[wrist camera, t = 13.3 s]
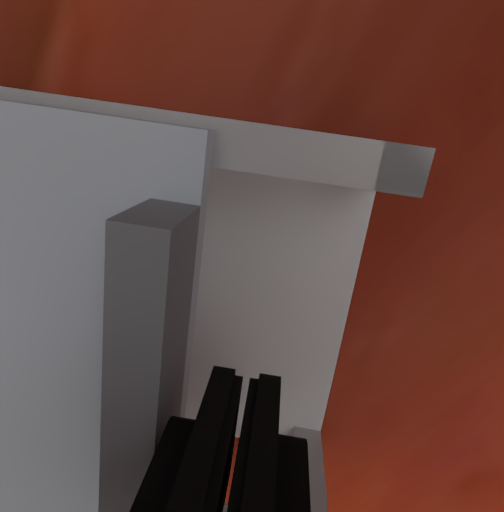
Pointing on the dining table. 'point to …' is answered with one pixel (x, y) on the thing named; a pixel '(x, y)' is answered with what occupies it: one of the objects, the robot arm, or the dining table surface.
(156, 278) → the lid
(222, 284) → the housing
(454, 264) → the dining table surface
